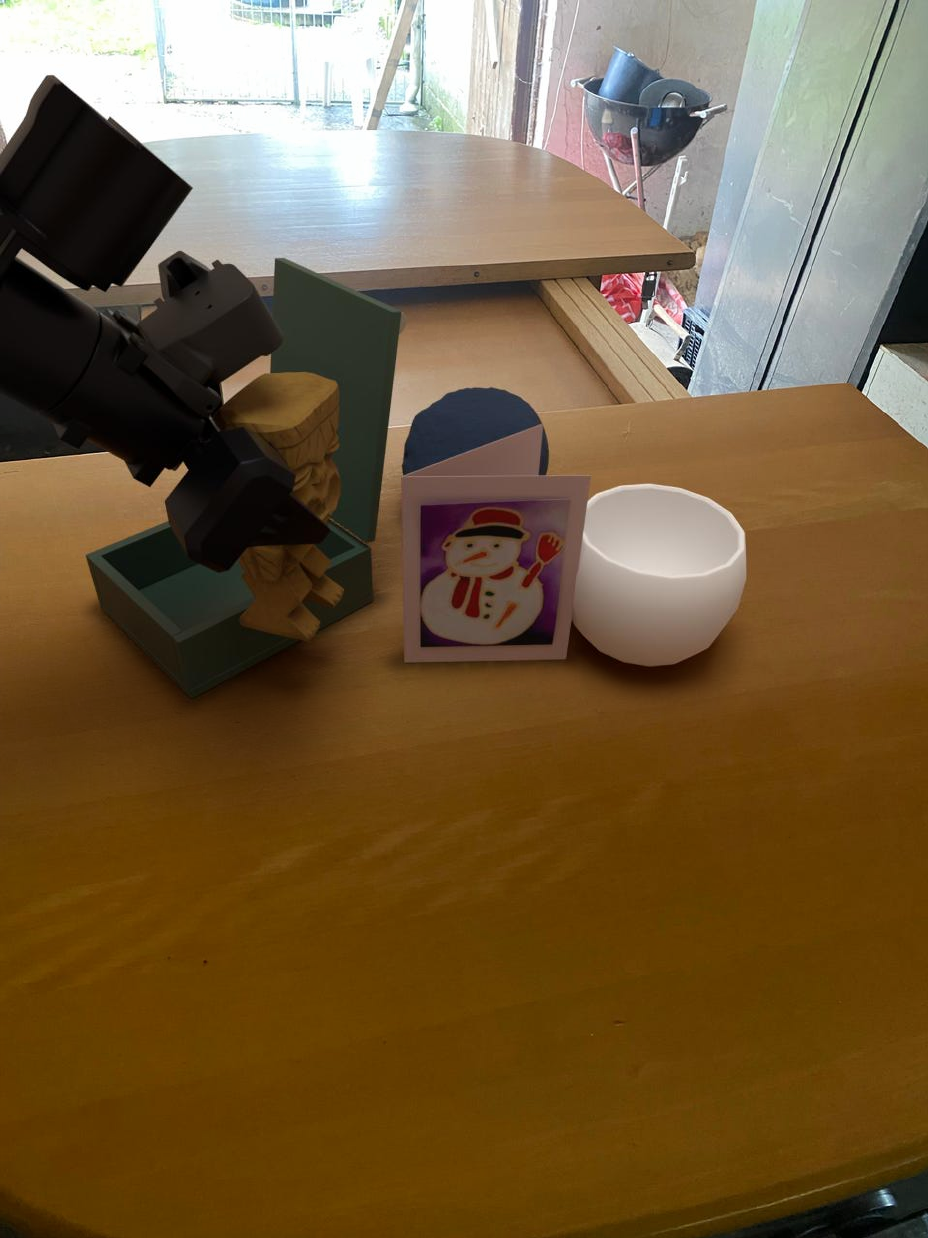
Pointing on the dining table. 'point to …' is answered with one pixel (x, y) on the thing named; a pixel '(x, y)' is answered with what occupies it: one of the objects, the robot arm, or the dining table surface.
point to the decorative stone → (468, 426)
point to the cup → (657, 573)
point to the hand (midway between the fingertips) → (299, 502)
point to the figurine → (306, 438)
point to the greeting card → (490, 555)
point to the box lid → (343, 375)
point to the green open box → (207, 603)
